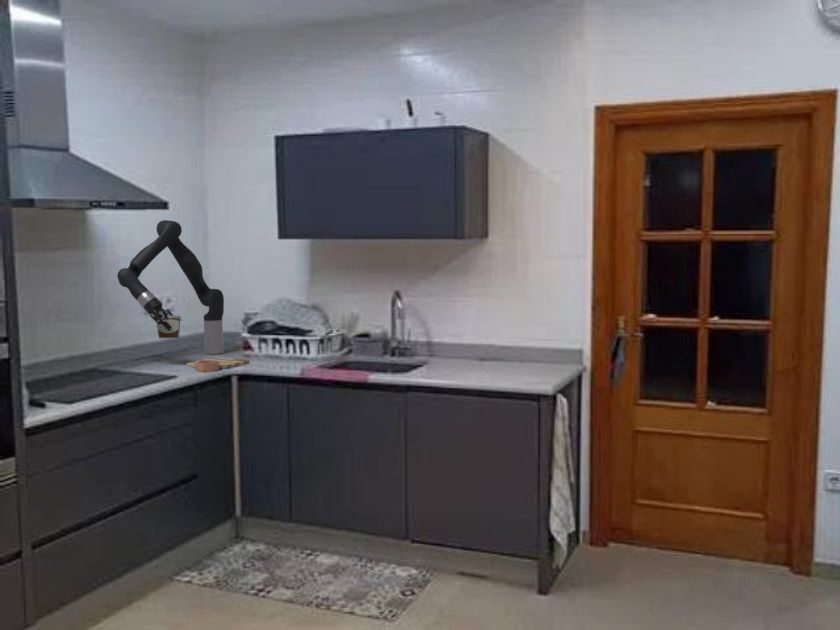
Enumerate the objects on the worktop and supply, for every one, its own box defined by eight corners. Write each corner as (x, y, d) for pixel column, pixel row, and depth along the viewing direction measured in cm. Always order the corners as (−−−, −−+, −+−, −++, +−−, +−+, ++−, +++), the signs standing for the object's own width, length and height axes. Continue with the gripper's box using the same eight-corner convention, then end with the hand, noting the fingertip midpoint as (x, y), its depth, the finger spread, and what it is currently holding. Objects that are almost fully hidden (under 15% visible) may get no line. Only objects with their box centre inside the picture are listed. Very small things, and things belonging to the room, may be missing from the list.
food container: (186, 336, 383) (185, 315, 382) (181, 338, 377) (180, 316, 376) (161, 336, 384) (160, 315, 383) (155, 338, 378) (154, 316, 377)
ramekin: (205, 368, 372) (204, 359, 372) (223, 369, 368) (223, 360, 368) (191, 371, 363) (190, 363, 363) (209, 373, 359) (209, 364, 359)
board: (210, 361, 394) (210, 357, 394) (249, 363, 386) (249, 359, 385) (186, 366, 377) (186, 362, 377) (226, 368, 369) (226, 364, 369)
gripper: (146, 298, 373) (171, 324, 372) (162, 295, 387) (186, 320, 386) (136, 309, 375) (160, 335, 374) (153, 306, 389) (176, 331, 388)
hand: (173, 328), depth 380 cm, fingers closed on food container, 6 cm apart
